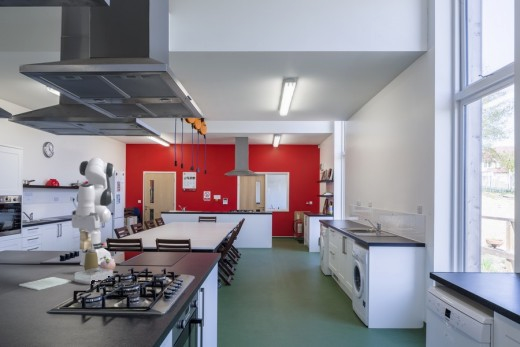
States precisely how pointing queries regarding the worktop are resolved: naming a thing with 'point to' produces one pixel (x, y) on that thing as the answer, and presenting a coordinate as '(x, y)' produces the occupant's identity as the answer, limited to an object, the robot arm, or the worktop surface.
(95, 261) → the squeeze bottle
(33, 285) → the sage pad
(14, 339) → the worktop surface
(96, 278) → the aluminium socket block
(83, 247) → the birch peg
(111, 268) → the decorative fruit
